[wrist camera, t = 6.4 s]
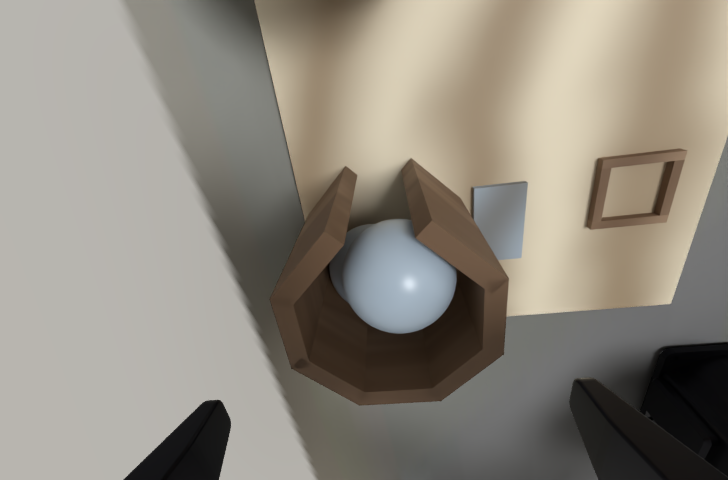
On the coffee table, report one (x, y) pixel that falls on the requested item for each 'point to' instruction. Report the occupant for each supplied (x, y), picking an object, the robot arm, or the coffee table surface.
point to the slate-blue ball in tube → (338, 259)
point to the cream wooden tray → (490, 165)
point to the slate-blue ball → (396, 278)
